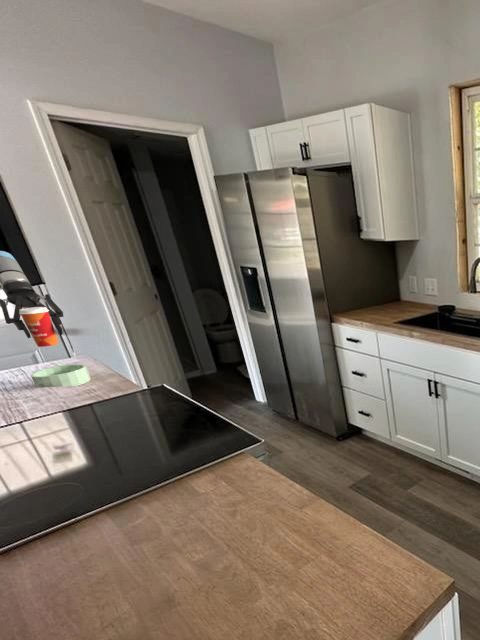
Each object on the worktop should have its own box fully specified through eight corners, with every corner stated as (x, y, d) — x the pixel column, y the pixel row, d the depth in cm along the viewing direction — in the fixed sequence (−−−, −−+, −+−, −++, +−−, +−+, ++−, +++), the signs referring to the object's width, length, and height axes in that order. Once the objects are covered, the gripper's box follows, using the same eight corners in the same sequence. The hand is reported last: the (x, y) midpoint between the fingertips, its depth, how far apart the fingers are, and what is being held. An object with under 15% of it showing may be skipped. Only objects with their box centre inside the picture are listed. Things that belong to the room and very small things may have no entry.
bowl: (34, 385, 155) (28, 371, 153) (86, 374, 166) (81, 361, 164) (40, 394, 147) (33, 379, 145) (94, 382, 158) (88, 368, 156)
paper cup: (28, 346, 155) (11, 310, 150) (53, 341, 162) (38, 306, 157) (43, 348, 154) (27, 310, 149) (67, 342, 161) (53, 307, 156)
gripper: (55, 289, 167) (82, 333, 165) (-23, 296, 151) (5, 345, 149) (53, 277, 163) (81, 322, 160) (-28, 283, 147) (2, 333, 144)
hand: (45, 333), depth 155 cm, fingers closed on paper cup, 8 cm apart
